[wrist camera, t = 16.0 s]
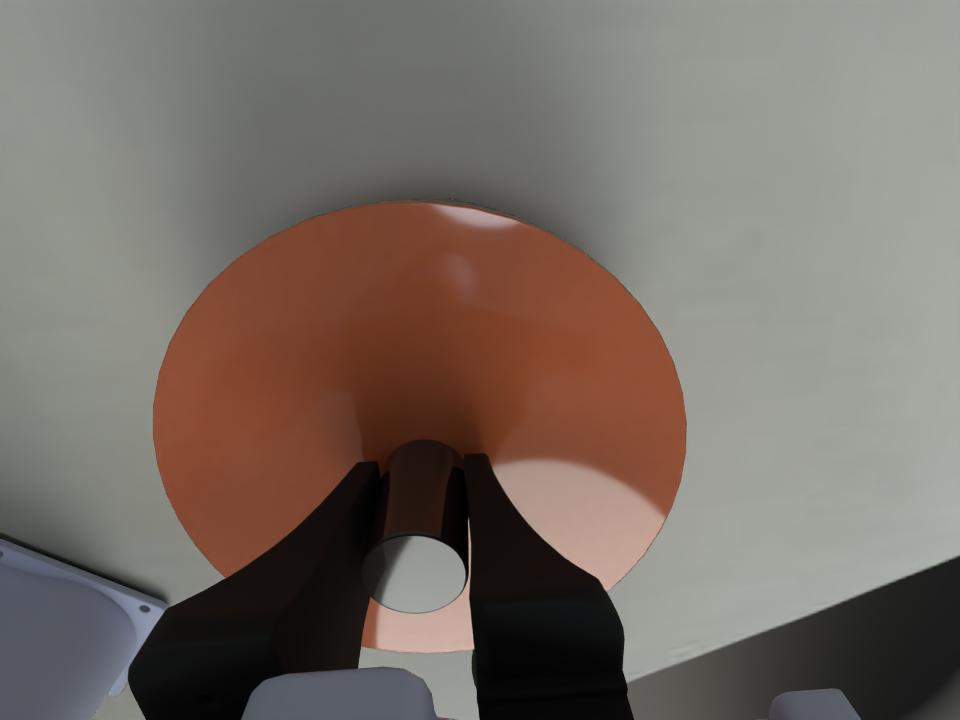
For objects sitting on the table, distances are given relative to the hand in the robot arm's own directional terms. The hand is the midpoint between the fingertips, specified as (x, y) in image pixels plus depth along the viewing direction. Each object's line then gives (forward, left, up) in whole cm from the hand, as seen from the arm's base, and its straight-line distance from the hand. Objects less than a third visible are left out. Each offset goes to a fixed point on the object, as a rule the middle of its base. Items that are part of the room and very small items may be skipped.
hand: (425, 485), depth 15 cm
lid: (0, 0, -1) cm, 1 cm away
